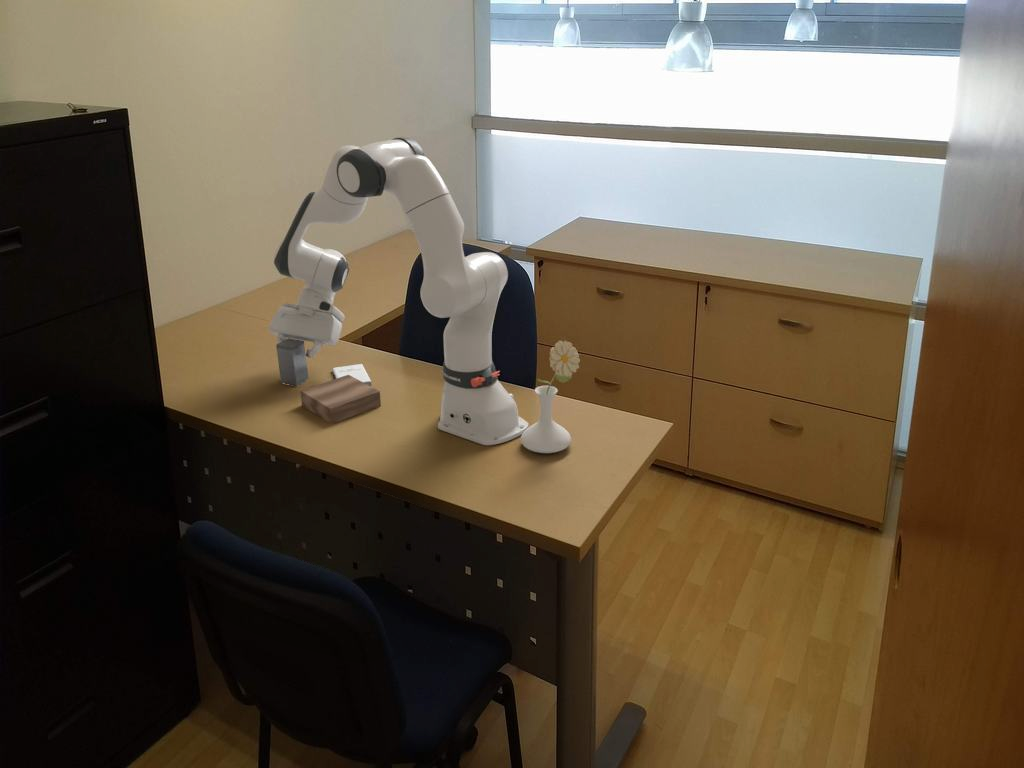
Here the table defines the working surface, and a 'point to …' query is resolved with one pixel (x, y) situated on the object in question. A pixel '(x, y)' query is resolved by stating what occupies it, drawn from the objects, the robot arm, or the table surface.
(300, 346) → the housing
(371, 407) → the stand
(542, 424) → the flower in vase
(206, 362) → the table surface
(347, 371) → the external hard drive
